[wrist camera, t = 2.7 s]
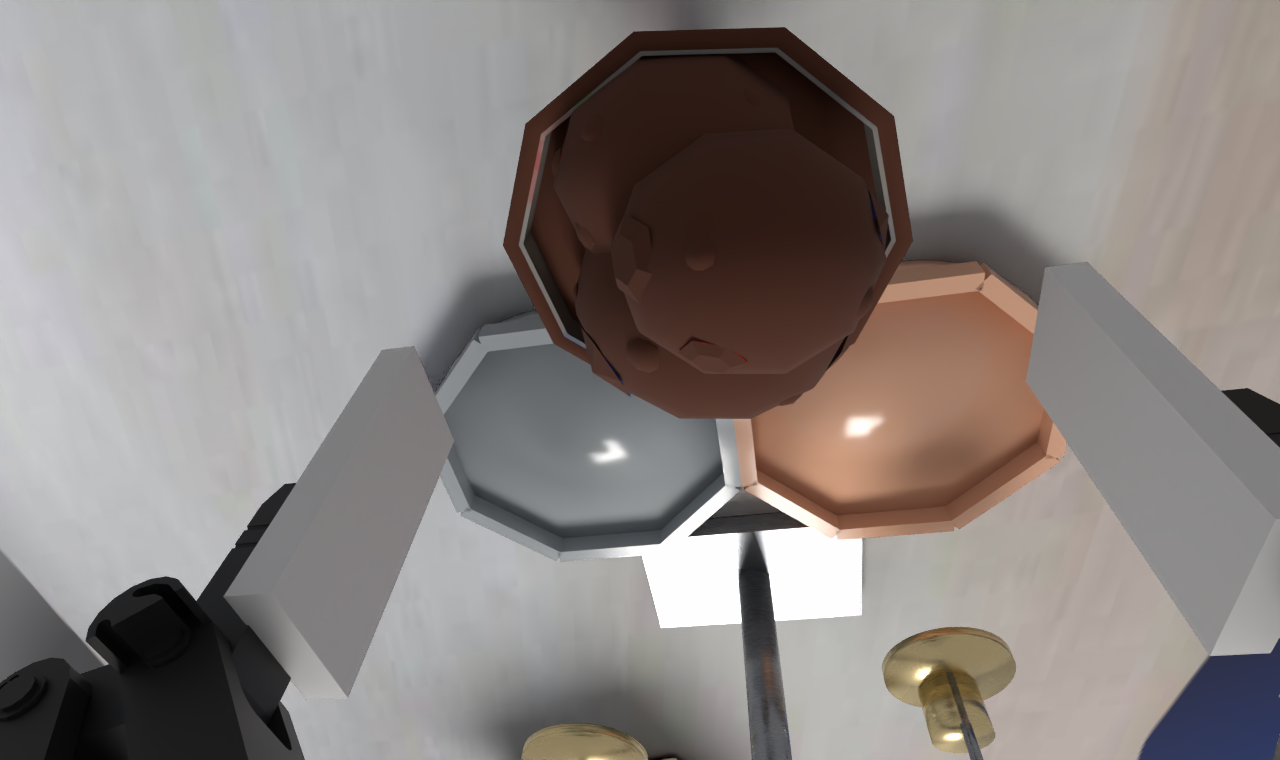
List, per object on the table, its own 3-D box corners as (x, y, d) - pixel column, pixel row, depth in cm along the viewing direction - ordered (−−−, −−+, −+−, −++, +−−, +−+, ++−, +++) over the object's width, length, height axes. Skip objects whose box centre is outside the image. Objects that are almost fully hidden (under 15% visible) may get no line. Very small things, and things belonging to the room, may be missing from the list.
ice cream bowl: (536, -19, 24) (388, 101, 12) (868, -30, 23) (1067, 85, 11) (566, 263, 30) (489, 527, 18) (829, 260, 30) (930, 533, 18)
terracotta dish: (717, 285, 31) (718, 306, 29) (1088, 236, 28) (1110, 256, 27) (747, 521, 39) (749, 547, 38) (1033, 498, 37) (1047, 523, 36)
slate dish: (394, 327, 33) (380, 349, 31) (717, 285, 31) (718, 306, 29) (489, 543, 41) (482, 567, 40) (747, 521, 39) (749, 547, 38)
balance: (540, 533, 41) (469, 866, 27) (970, 496, 37) (1134, 856, 24) (572, 617, 45) (525, 938, 32) (957, 591, 42) (1088, 938, 28)
